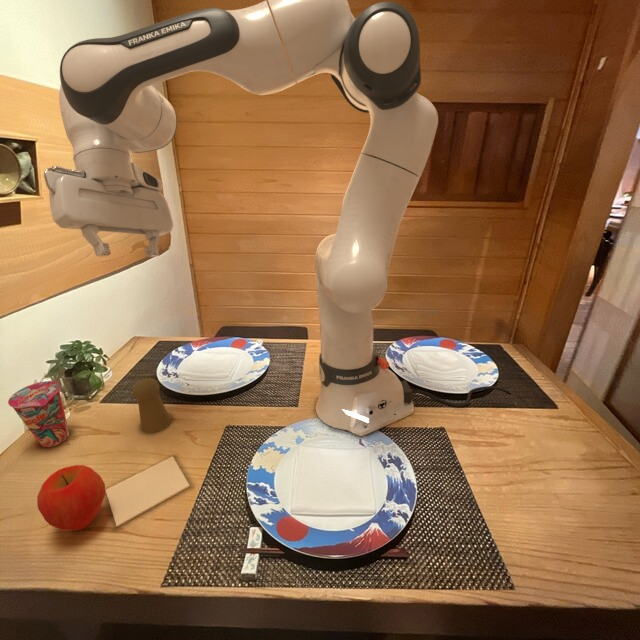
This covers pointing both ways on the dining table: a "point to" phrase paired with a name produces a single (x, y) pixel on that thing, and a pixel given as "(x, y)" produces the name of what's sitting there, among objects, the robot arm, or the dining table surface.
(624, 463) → the dining table surface
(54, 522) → the apple
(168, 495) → the napkin
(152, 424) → the pepper shaker
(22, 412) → the cup
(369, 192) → the robot arm
